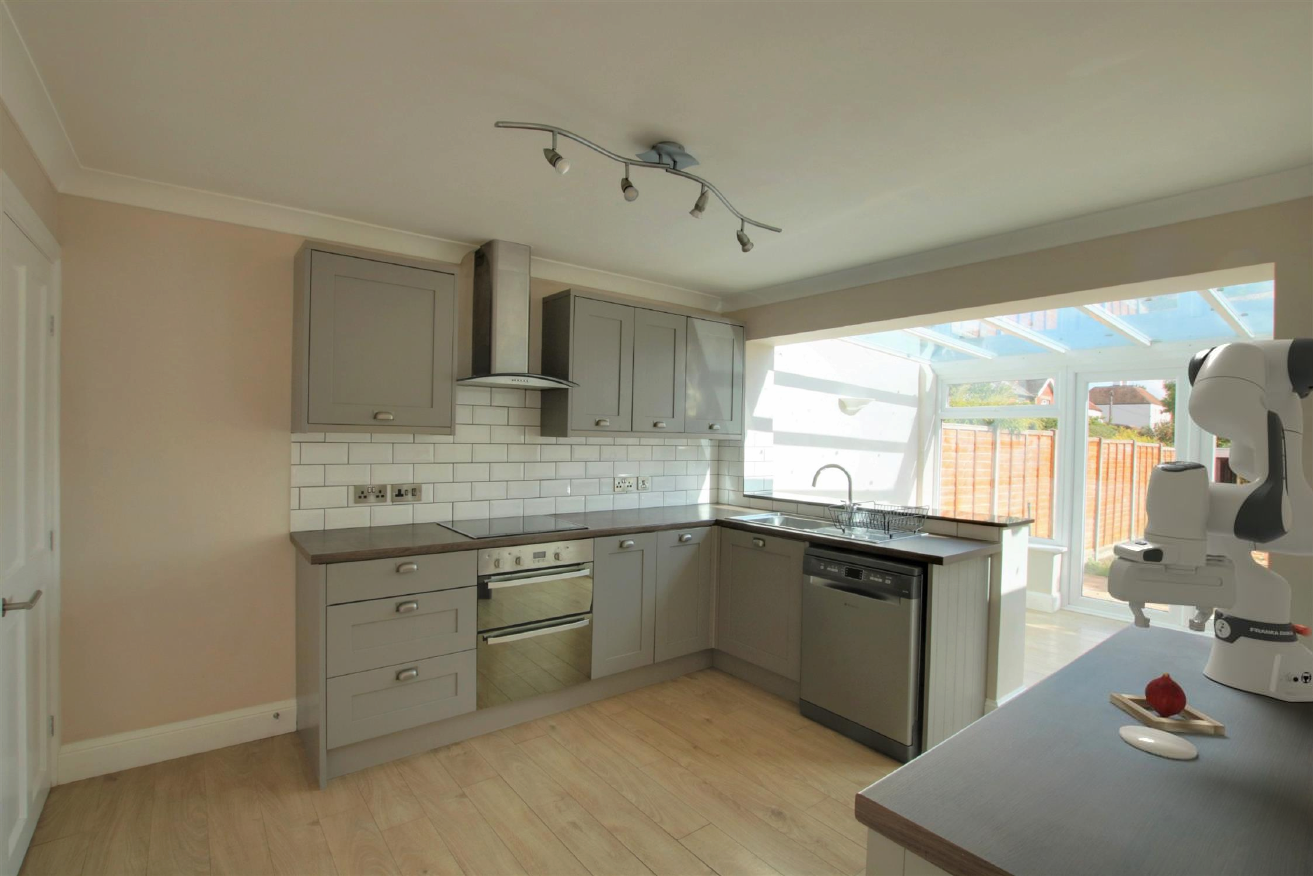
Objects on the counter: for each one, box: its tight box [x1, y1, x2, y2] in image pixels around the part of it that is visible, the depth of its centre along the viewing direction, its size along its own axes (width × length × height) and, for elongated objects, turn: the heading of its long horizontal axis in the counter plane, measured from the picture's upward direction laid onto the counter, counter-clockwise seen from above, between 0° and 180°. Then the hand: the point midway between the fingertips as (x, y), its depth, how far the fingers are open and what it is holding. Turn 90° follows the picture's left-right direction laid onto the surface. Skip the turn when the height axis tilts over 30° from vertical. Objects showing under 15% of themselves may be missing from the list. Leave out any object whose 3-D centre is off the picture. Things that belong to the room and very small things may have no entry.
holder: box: [1109, 693, 1226, 736], centre depth 114 cm, size 12×12×2 cm
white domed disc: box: [1118, 725, 1198, 761], centre depth 104 cm, size 10×10×1 cm
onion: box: [1144, 671, 1187, 718], centre depth 114 cm, size 6×6×8 cm
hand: (1169, 628), depth 114 cm, fingers open, 8 cm apart
